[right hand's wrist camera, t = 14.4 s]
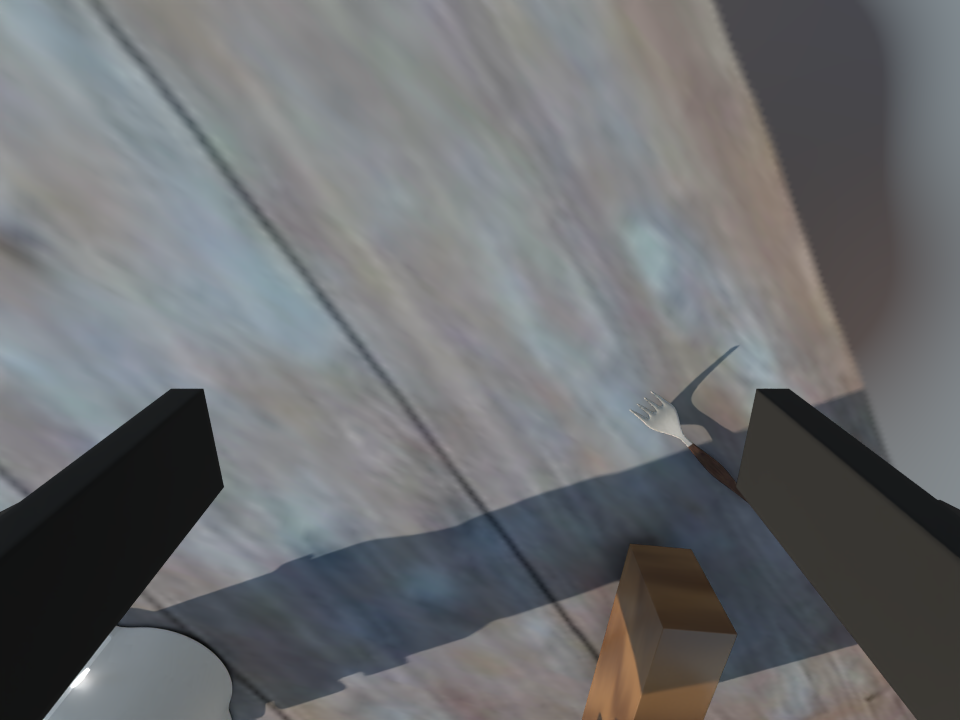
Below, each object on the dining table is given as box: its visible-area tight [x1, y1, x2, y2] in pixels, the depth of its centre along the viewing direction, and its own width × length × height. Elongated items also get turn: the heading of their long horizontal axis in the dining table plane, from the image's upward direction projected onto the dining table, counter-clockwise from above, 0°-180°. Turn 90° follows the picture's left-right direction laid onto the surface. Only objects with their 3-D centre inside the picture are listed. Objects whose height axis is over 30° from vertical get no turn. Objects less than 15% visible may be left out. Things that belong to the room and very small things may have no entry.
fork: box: [630, 391, 747, 502], centre depth 43 cm, size 3×16×2 cm, turn 47°
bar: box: [582, 544, 737, 720], centre depth 46 cm, size 23×6×9 cm, turn 173°
